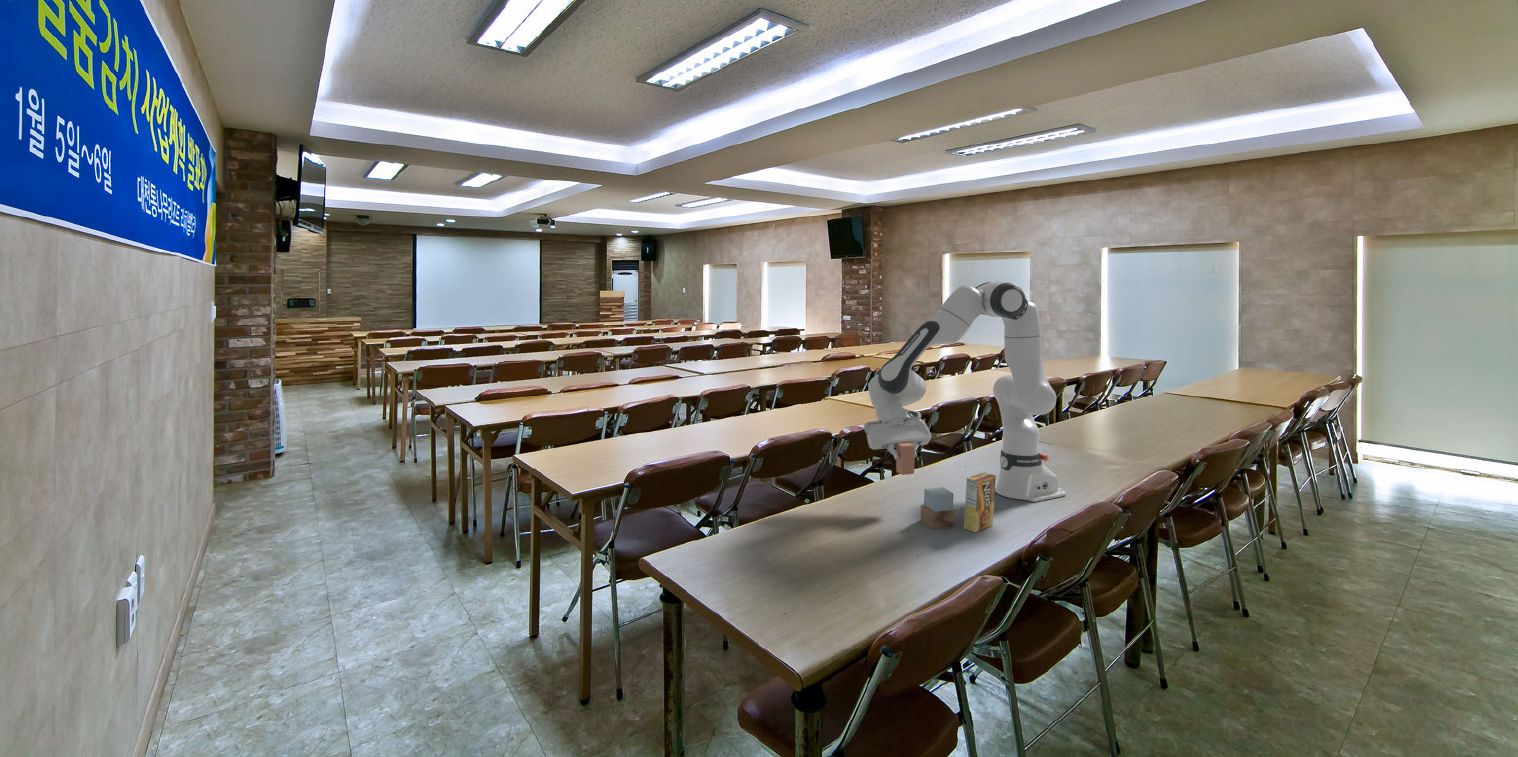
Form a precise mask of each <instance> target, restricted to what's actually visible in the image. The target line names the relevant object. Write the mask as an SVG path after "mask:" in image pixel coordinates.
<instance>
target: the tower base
mask: <svg viewBox="0 0 1518 757" xmlns="http://www.w3.org/2000/svg"><path fill="white" fill-rule="evenodd" d="M922 521H923V522H924V523H923V522H922ZM920 522H922V523H923V524H925V525H926V524H927V525H926V526H928V527H929V528H930V527H931V528H930V529H932V530H934V528H936V529H942V528H944V527H945V528H952V526H955V509H953V510H948V511H939V512H934V511H932V510H931V509H929V508H927V507H926V506H924V503H923V504H921V505H920Z"/></svg>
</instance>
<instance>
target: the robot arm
mask: <svg viewBox="0 0 1518 757" xmlns="http://www.w3.org/2000/svg"><path fill="white" fill-rule="evenodd" d="M980 315H984V316H989V317H994V318H999V317H1000V318H1001V320H1002V322H1003V325H1004V330H1003V332H1004V333H1003V334H1004V360H1005V363H1006V364H1007V366H1008V368H1009V369H1010V370H1009V371H1010V372H1011V374H1008V375H1002V376H1001V377H999V378H997V380H996V381H995V382H994V384H993V388H992V394H993V396H994V397H995V399H996V401H997V404H998V407H999V411H1000V417H1001V423H1002V446H1001V447H1002V448H1001V449H1000V457H999V462H1000V463H999V464H1000V465H999V466H1000V469H999V475H998V479H997V482H996V484H995V493H996V494H998V495H1001V496H1003V497H1005V498H1009V499H1016V500H1023V501H1027V502H1028V501H1029V502H1032V503H1033V502H1041V501H1046V500H1051V499H1055V498H1056V499H1057V498H1061V497H1066V491H1065V490H1064V489H1062V488H1061V487H1059V479H1058V476H1057V475H1056V474H1055V473H1054V472H1053V471H1051V470H1050V469H1049V468H1048V467H1047V466H1046V465H1044V464H1043V462H1042V461H1044V462H1047V461H1049V458H1050V456H1049V455H1047V454H1045V453H1042V454H1041V453H1040V452H1039V443H1040V442H1039V441H1040V440H1039V439H1040V430H1039V427H1038V424H1036V422H1035V418H1034V416H1039V415H1040V416H1043V415H1047V414H1048V413H1050V412H1051V411H1052V410H1053V409H1054V408H1055V406H1056V403H1057V394H1056V391H1055V390H1054V389H1053V387H1052V386H1051V384H1050V382H1049V380H1048V377H1047V375H1046V372H1045V368H1044V364H1043V357H1042V328H1041V320H1040V319H1041V318H1040V313H1039V309H1038V306H1037V305H1036V303H1033V302H1032V301H1028V300H1027V298H1026V295H1025V292H1024V290H1023V289H1022V288H1021V287H1020V286H1019V285H1017V284H1015V283H1012V282H1004V281H992V282H988V281H987V282H984V283H981V284H979V285H977V286H976V287H974V286H970V285H960V286H958V287H957V288H956V289H955V290H954V291H953V292H952V293H951V294H950V295H949V296H948V297H947V298H946V300H945V301H944V302H943V303H942V305H941V306H940V308H939V309H938V310H937V312H936V313H935V314H934V316H932V317H931V319H929V320H927V321H926V322H923V324H922V325H920V326H919V327H918V328H917V330H916V331H915V332H914V333H913V334H912V335H911V337H910V338H908V339H907V340H906V342H905V343H903V344H904V345H903V346H902V347H901V348H900V349H899V350H898V351H897V352H896V354H895V355H894V356H893V357H891V358H890V359H889V360H888V361H886V362H885V363H884V364H883V365H882V366H881V368H880V369H879V372H878V374H876V375H875V376H873V377H872V378H871V379H870V381H869V382H868V395H869V397H870V398H869V399H870V401H871V405H872V407H873V408H874V410H875V415H876V419H877V420H874V421H867V422H866V423H864V425H863V430H864V432H865V434H866V440H867V444H868V447H869V448H870V449H872V450H881V449H882V450H883V449H887V451H888V452H889V453H890V454H891V455H892V456H893V457H894V460H896V459H900V458H901V455H900V452H897V449H895V448H897V443H905V442H909V443H911V444H913V445H915V448H914V459H915V458H917V456H918V454H917V447H918V446H926V445H928V444H929V443H930V441H931V439H932V434H931V432H930V429H929V428H928V426H927V423H926V422H925V421H924V420H922V419H921V418H922V414H921V413H920V411H915V410H911V409H906V408H904V407H906V406H909V405H912V404H913V403H917V402H919V401H920V400H921V399H922V398H923V397H924V395H925V393H926V389H927V385H926V381H925V380H924V379H923V377H921V376H920V375H919V374H918V373H916V371H913V370H912V367H913V365H914V364H915V363H916V362H917V361H918V360H919V359H920V357H922V355H923V354H924V353H925V352H926V350H927V349H928V348H930V347H932V346H933V345H954V344H957V343H958V342H959V341H960V340H962V339H963V337H964V336H965V334H966V333H967V331H969V329H970V328H971V327H972V325H973V323H974V321H975V320H976V319H977V318H978V317H979V316H980Z"/></svg>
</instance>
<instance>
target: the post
mask: <svg viewBox="0 0 1518 757" xmlns="http://www.w3.org/2000/svg"><path fill="white" fill-rule="evenodd" d="M914 448H915V445H913V444H911V443H909V442H905V443H897V447H896V451H897V452H900V455H901V458H900V459H895V462H896V463H895V464H896V465H895V466H896V469H895V470H896V473H898V474H900V475H902V476H903V475H904V476H906V475H915V458H914Z"/></svg>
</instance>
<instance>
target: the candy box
mask: <svg viewBox="0 0 1518 757" xmlns="http://www.w3.org/2000/svg"><path fill="white" fill-rule="evenodd" d="M996 477H997V476H996V475H995V474H993V473H988V472H981V473H978V474H974V475H971V476H968V477H966V485H965V486H966V487H965V504H964V518H963V519H964V522H963V529H964V530H966V531H970V532H973V533H977V532H980V531H983V530H984V529H987V528H989V527H992V526H993V522H994V509H995V508H994V507H995V496H996V495H995V493H996V492H995V488H996V480H997V479H996Z"/></svg>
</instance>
